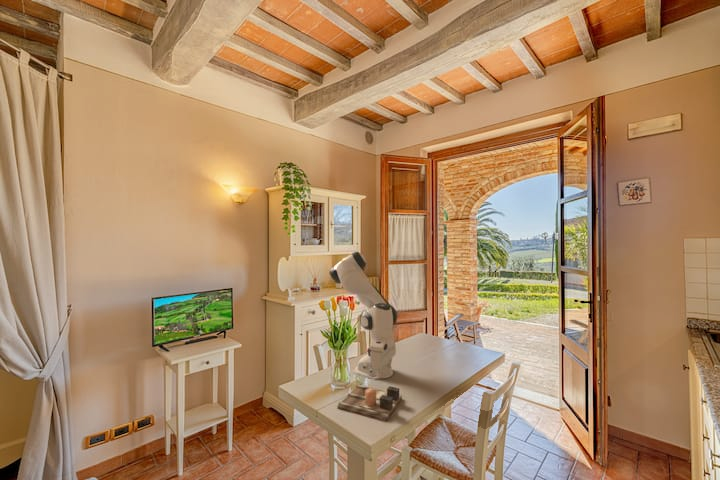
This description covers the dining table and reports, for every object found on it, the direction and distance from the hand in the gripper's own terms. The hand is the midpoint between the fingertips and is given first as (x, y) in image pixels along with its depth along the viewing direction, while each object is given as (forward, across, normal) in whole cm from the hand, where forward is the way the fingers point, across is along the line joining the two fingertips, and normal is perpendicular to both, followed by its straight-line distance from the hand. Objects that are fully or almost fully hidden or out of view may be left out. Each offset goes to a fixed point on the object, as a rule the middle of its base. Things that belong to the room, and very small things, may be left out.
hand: (384, 372), depth 137 cm
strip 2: (+17, -9, -5) cm, 20 cm away
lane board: (+18, -4, -10) cm, 21 cm away
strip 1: (+17, 0, -4) cm, 17 cm away
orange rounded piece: (+16, 0, -7) cm, 17 cm away
